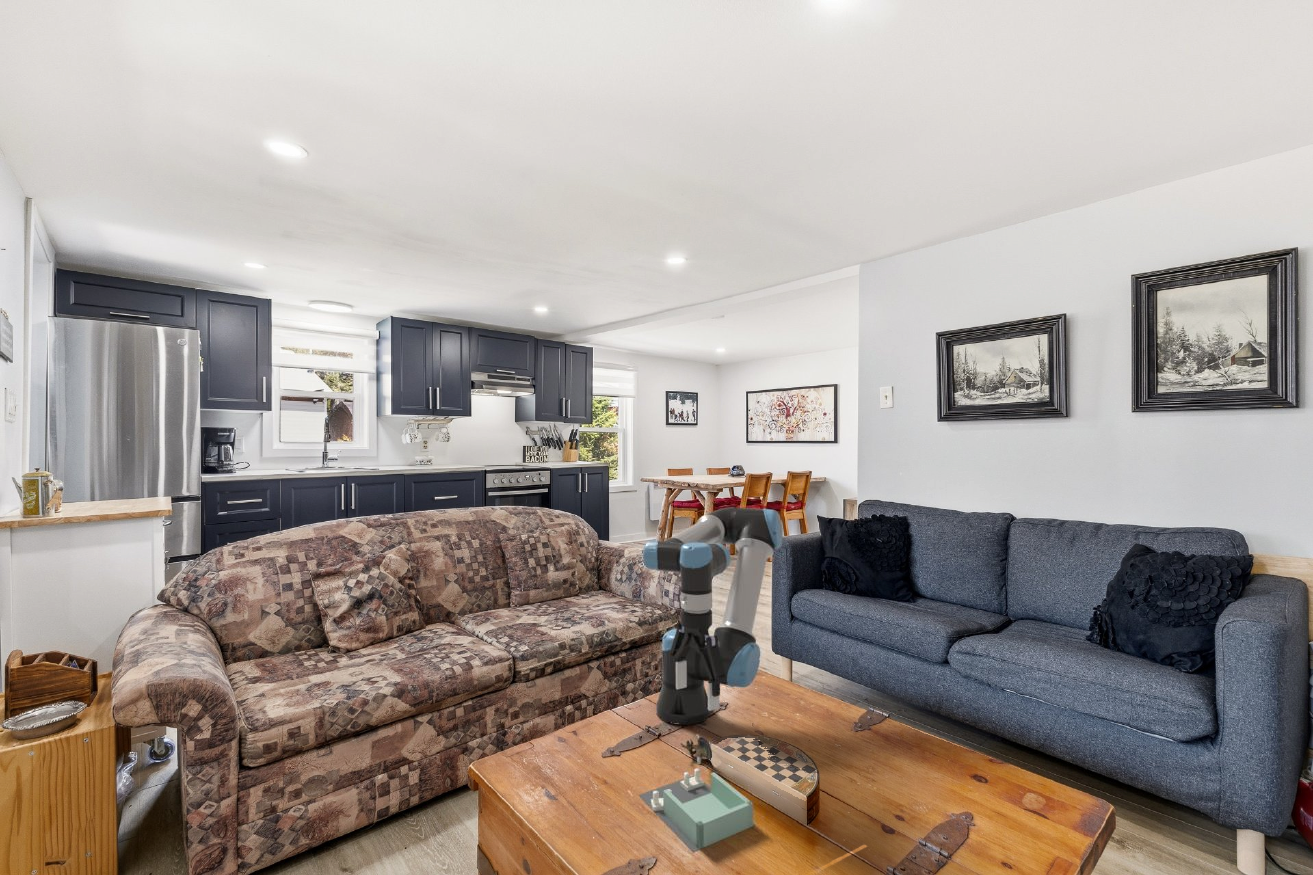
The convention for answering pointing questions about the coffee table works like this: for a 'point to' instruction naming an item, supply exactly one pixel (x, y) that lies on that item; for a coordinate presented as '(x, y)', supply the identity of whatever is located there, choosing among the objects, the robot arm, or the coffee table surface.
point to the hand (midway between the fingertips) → (696, 697)
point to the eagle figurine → (699, 748)
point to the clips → (686, 784)
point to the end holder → (710, 813)
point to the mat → (683, 798)
